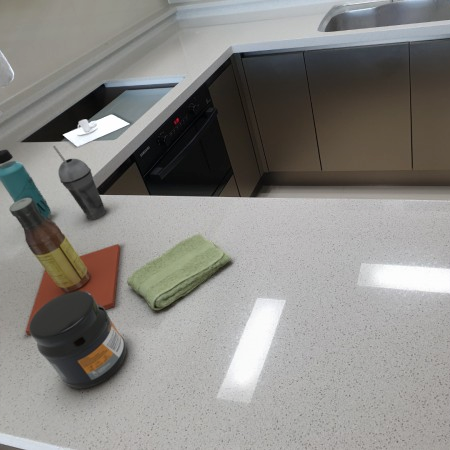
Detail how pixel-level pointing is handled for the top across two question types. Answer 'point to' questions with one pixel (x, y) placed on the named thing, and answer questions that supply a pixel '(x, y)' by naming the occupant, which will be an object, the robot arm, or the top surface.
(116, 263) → the condiment mat
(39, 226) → the sauce bottle
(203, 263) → the washcloth
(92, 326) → the supplement container
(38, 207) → the beverage bottle
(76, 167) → the beverage cup
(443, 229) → the top surface
